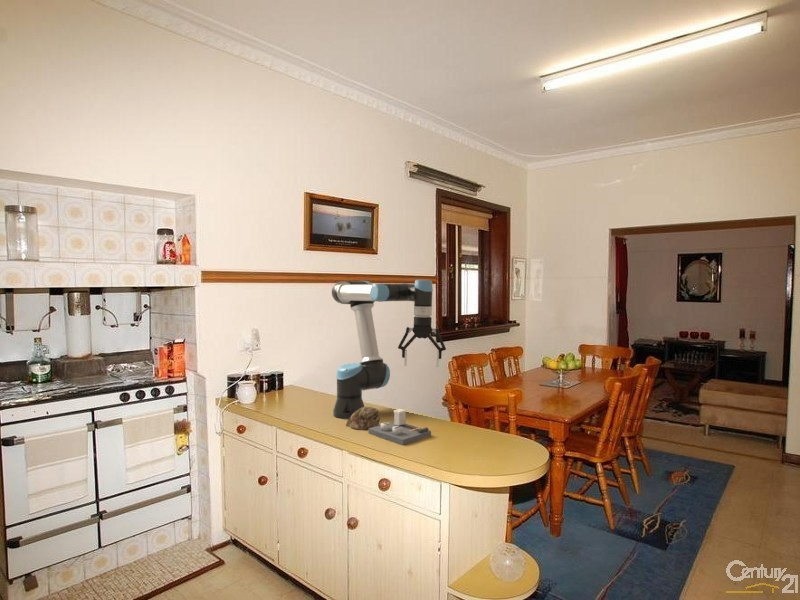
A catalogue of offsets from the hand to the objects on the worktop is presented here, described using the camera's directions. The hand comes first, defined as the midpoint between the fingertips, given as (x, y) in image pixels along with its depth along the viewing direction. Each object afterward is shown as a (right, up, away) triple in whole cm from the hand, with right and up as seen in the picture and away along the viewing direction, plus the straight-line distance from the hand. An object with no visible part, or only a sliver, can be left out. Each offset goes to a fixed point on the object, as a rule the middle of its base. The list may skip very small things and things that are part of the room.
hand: (421, 366), depth 202 cm
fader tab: (-9, -24, -2) cm, 26 cm away
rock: (-26, -27, +2) cm, 37 cm away
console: (-9, -27, -9) cm, 30 cm away
